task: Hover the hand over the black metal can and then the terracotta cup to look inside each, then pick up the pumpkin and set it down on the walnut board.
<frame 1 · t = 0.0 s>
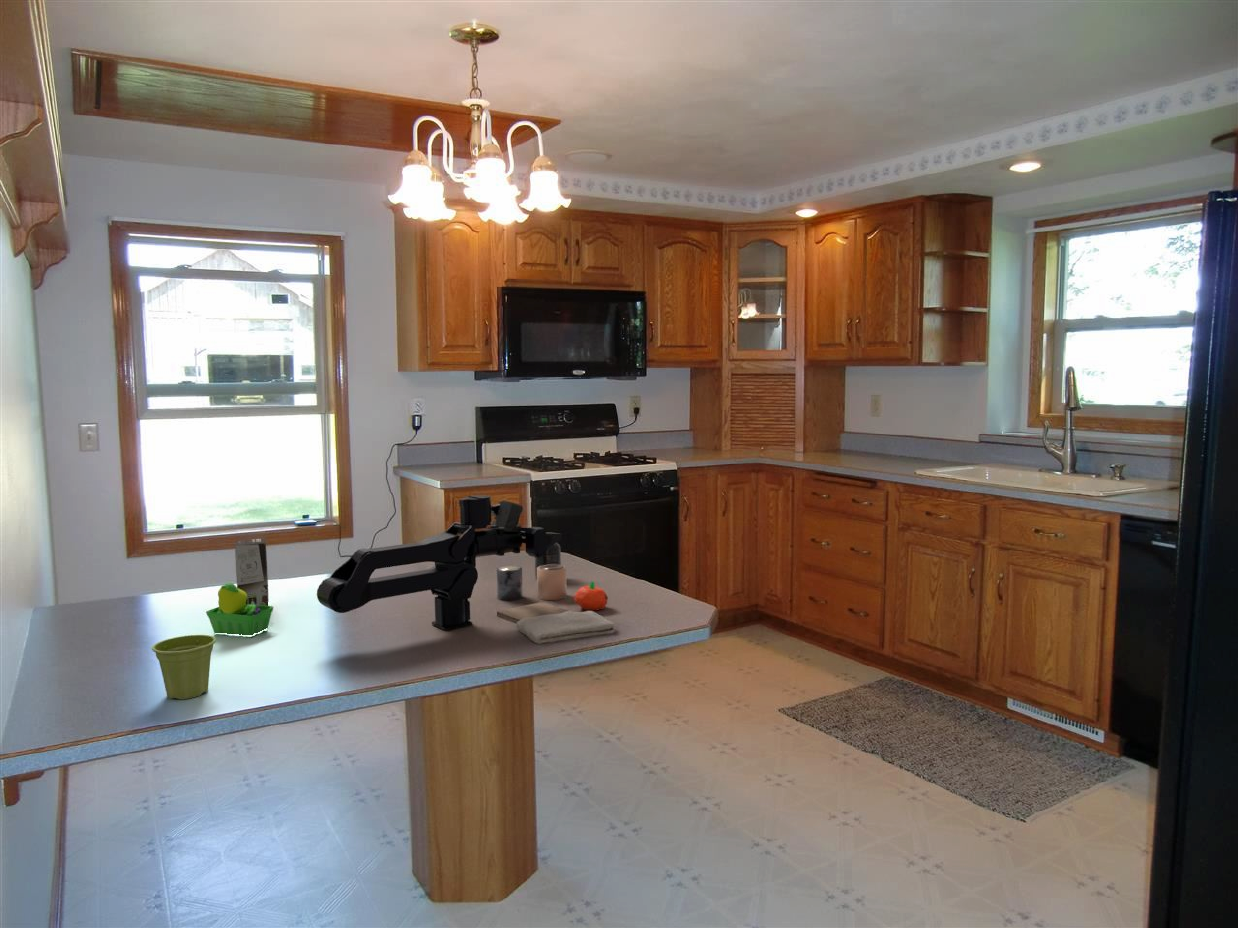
hand: (549, 533, 196), 17 cm above the table, tool horizontal, fingers open, 9 cm apart
plant pot: (187, 694, 142), on the table
fruit basket: (239, 634, 177), on the table
washcloth: (566, 634, 176), on the table
coffee box: (254, 611, 195), on the table
pumpkin: (590, 609, 193), on the table
walnut board: (535, 616, 187), on the table
black metal can: (510, 597, 204), on the table
supplement bottle: (548, 579, 224), on the table
terracotta cup: (552, 596, 205), on the table
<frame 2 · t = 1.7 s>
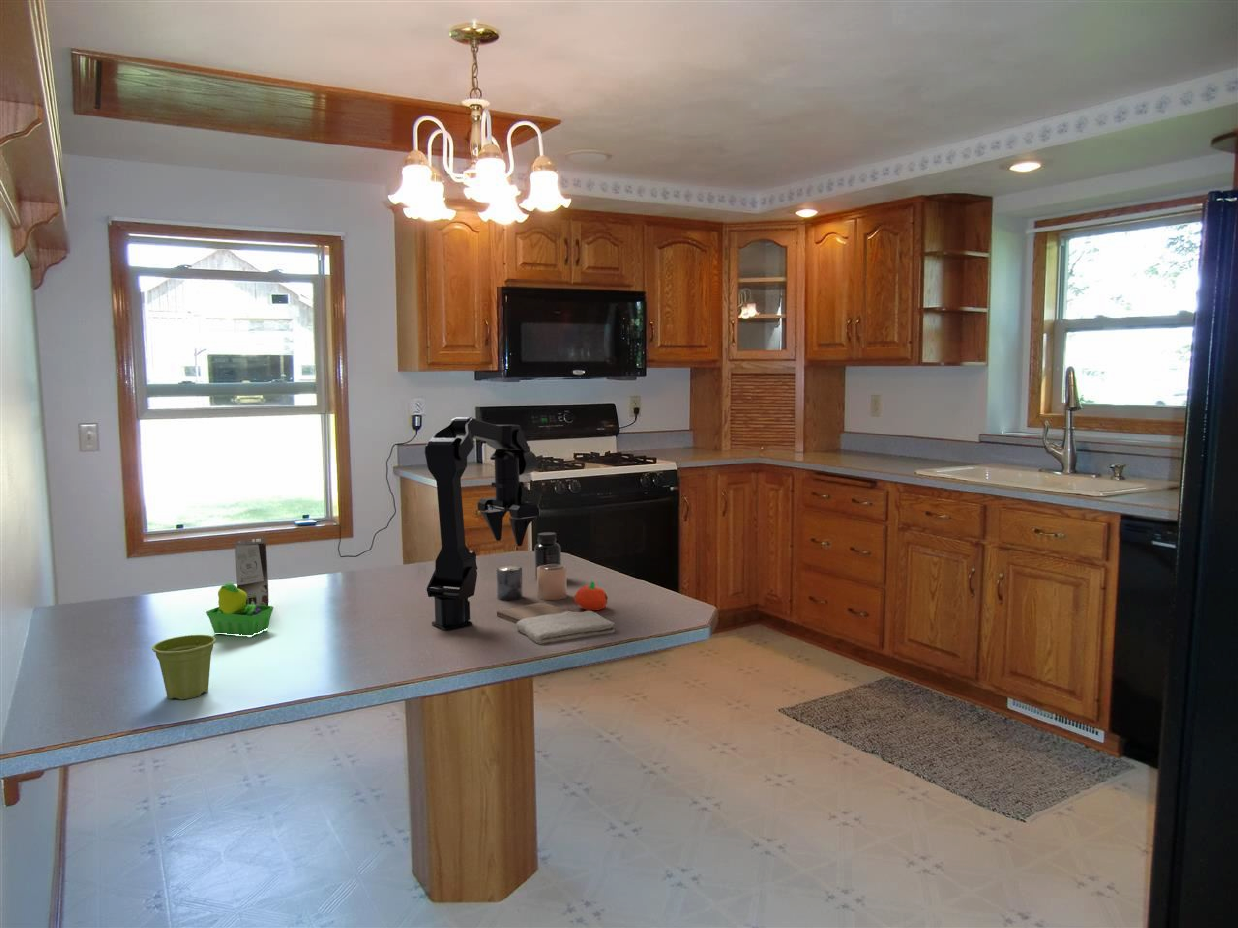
hand: (508, 543, 203), 13 cm above the table, tool pointing down, fingers open, 9 cm apart
nothing on the table moved.
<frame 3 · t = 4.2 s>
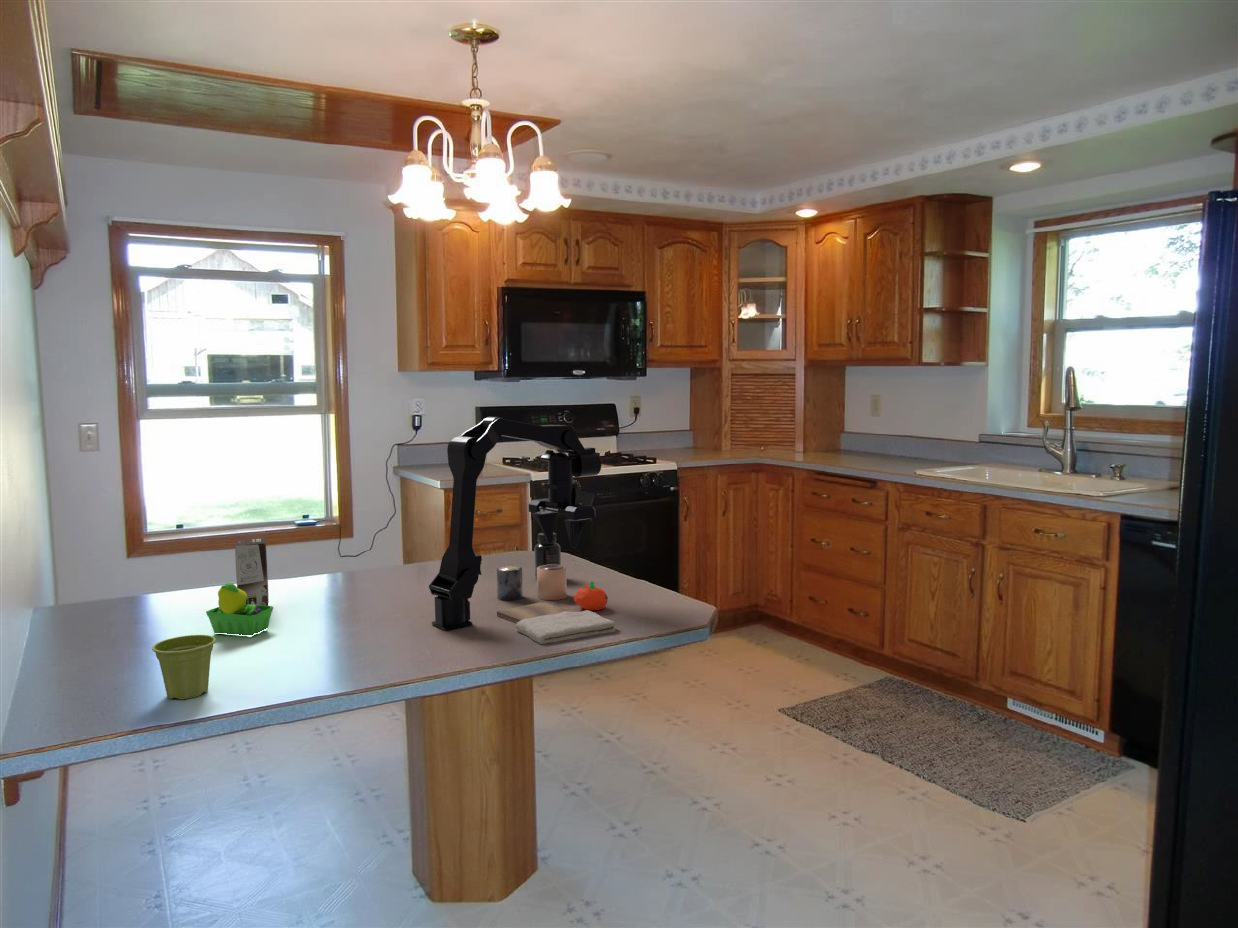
hand: (561, 545, 200), 13 cm above the table, tool pointing down, fingers open, 9 cm apart
nothing on the table moved.
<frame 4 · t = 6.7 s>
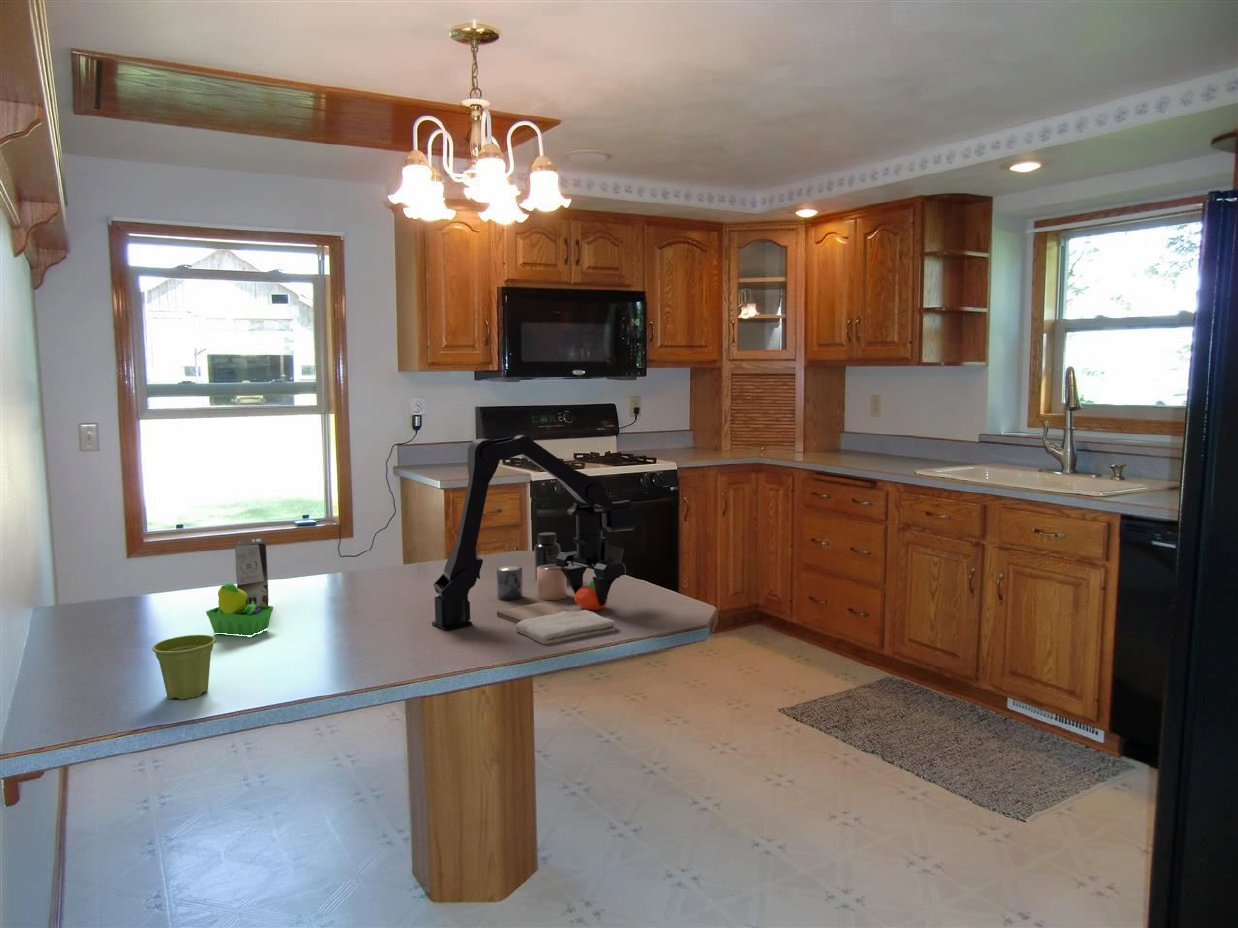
hand: (590, 601, 193), 2 cm above the table, tool pointing down, fingers closed on pumpkin, 8 cm apart
pumpkin: (590, 609, 193), on the table, touching gripper
everything else where it was.
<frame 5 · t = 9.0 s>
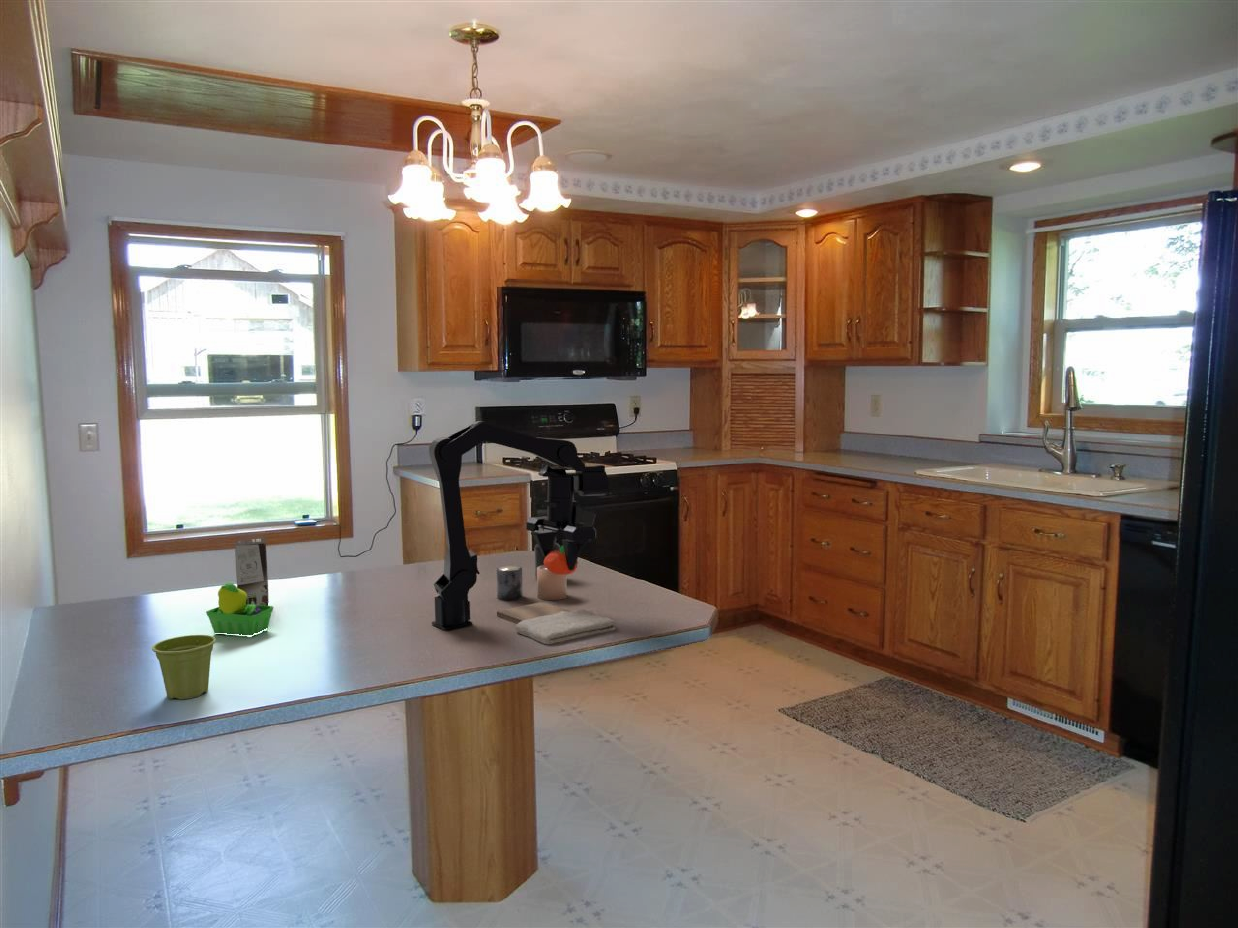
hand: (559, 566, 189), 10 cm above the table, tool pointing down, fingers closed on pumpkin, 8 cm apart
pumpkin: (559, 574, 189), point 9 cm above the table, touching gripper
everything else where it was.
when the fingers open (4 cm above the table, at t = 11.6 s): pumpkin drops 2 cm, resting on walnut board.
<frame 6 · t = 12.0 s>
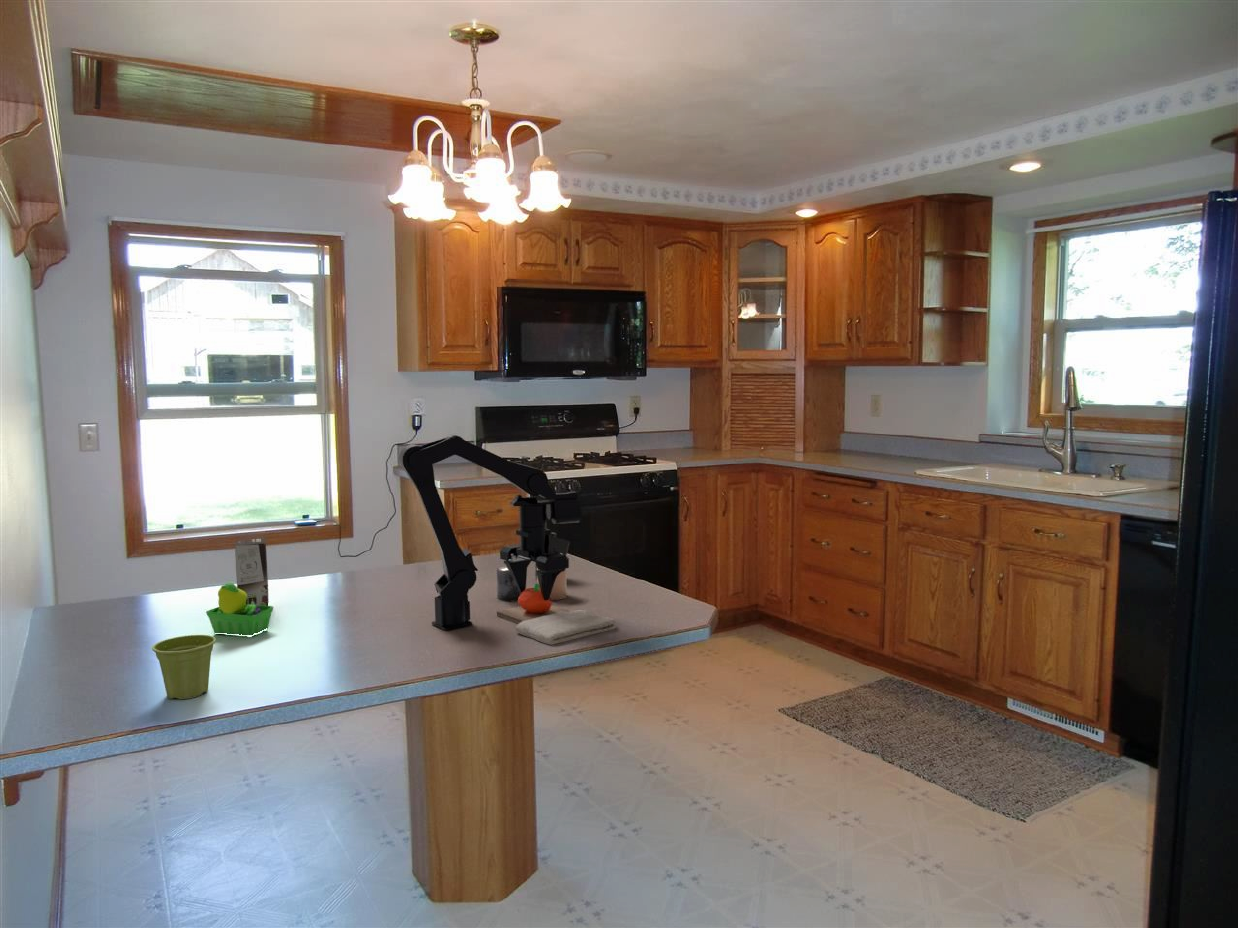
hand: (534, 596, 187), 4 cm above the table, tool pointing down, fingers open, 9 cm apart
pumpkin: (534, 612, 187), point 1 cm above the table, touching walnut board
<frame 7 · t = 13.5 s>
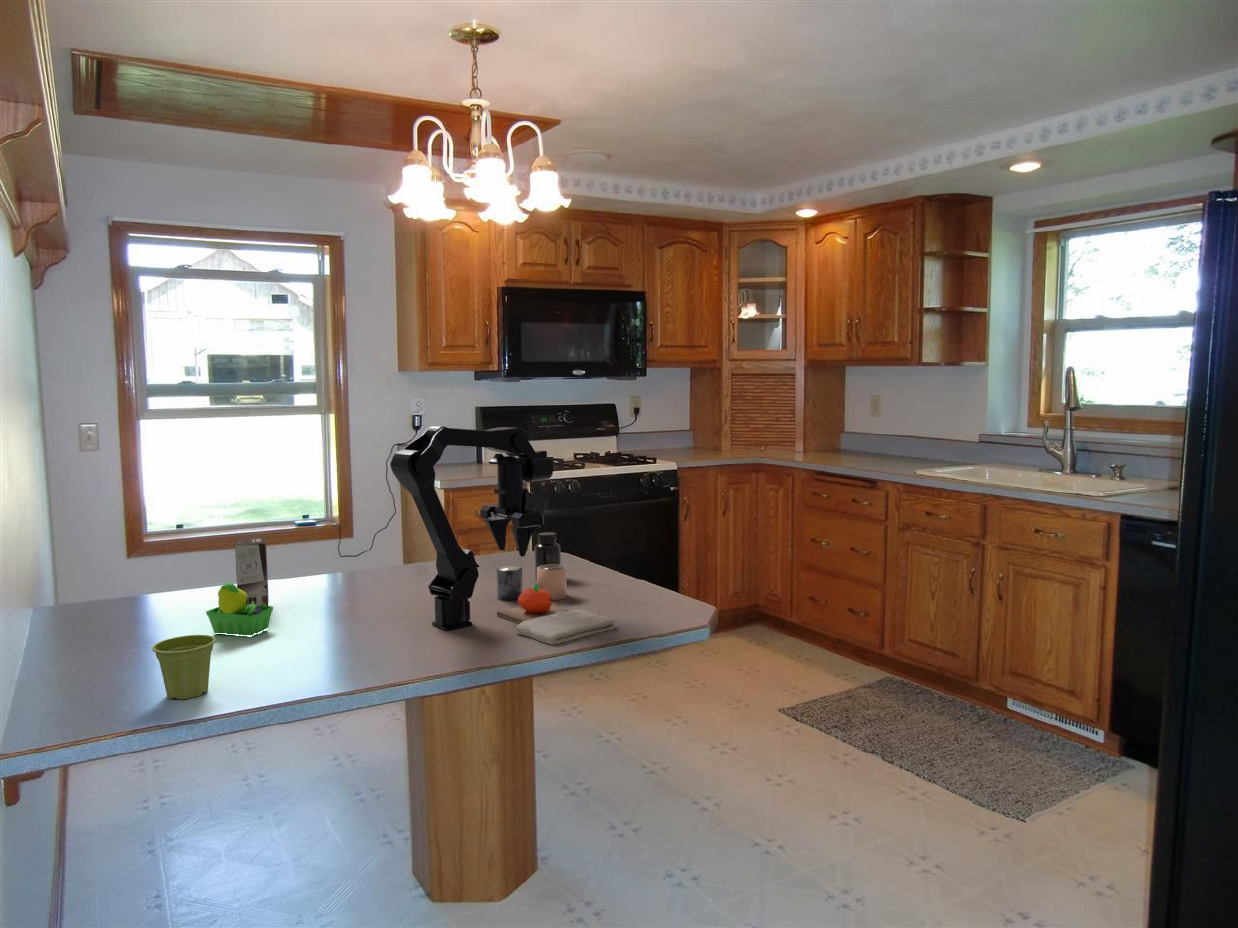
hand: (512, 553, 192), 13 cm above the table, tool pointing down, fingers open, 9 cm apart
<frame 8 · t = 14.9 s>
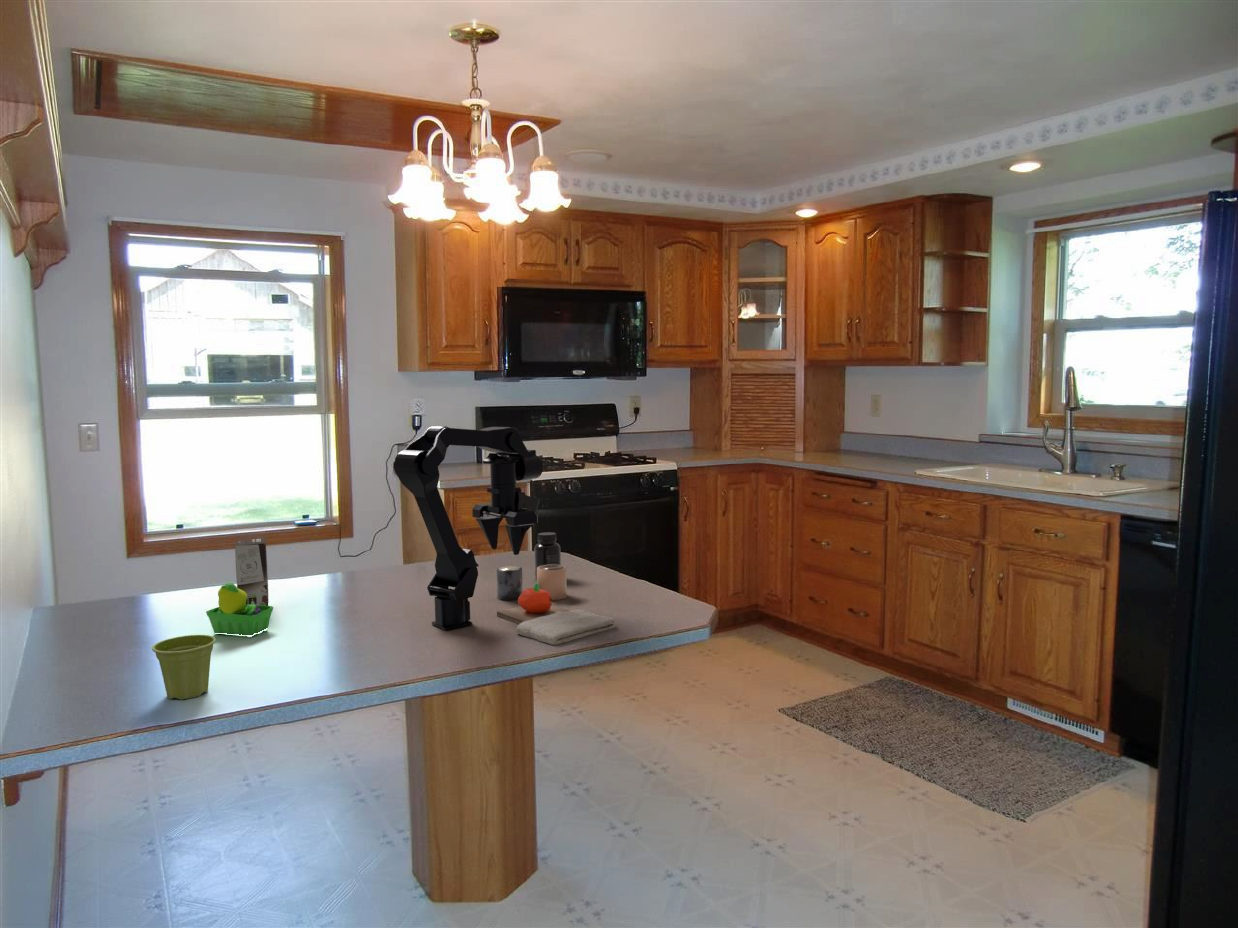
hand: (505, 551, 193), 13 cm above the table, tool pointing down, fingers open, 9 cm apart
at the end: pumpkin inside the target area on the walnut board (0.1 cm from its centre), point 0.8 cm above the walnut board's base; pumpkin touching walnut board; the gripper is holding nothing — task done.
